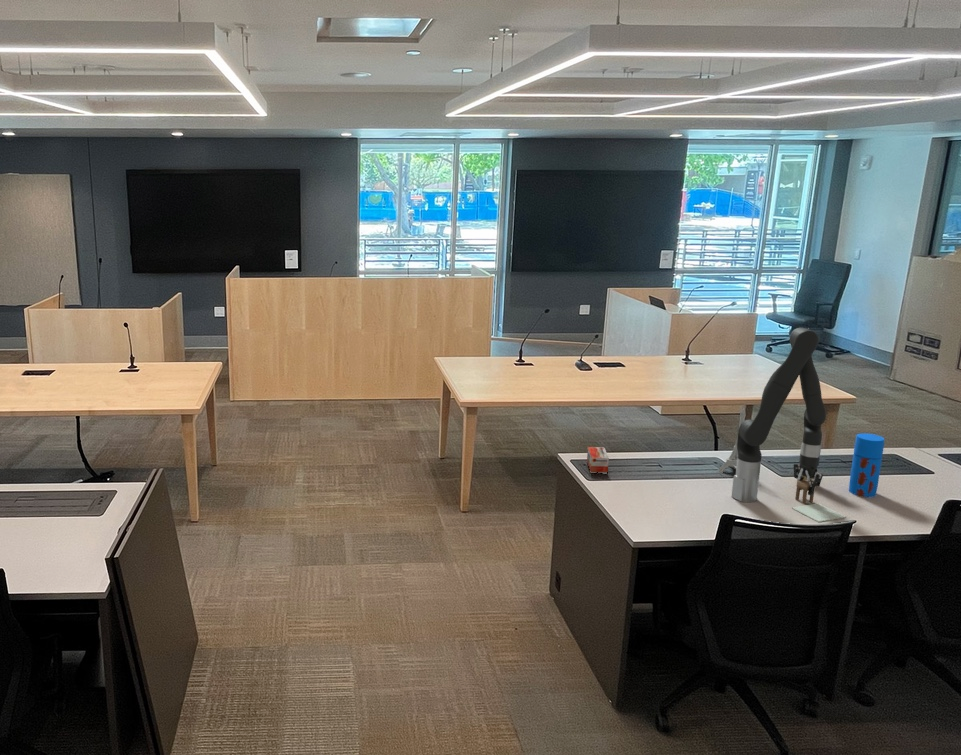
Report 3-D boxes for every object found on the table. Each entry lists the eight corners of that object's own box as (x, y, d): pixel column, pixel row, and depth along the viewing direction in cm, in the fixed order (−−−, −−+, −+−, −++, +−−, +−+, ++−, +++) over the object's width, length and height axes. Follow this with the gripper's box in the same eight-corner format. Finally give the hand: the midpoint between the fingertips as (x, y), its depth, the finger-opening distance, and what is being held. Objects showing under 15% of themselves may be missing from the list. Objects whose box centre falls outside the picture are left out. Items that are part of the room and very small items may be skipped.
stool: (803, 503, 312) (806, 485, 310) (794, 499, 316) (797, 481, 314) (813, 502, 314) (815, 483, 312) (804, 497, 318) (806, 479, 316)
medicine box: (608, 474, 340) (609, 457, 338) (590, 474, 340) (591, 457, 338) (603, 463, 355) (604, 447, 353) (586, 462, 355) (587, 446, 353)
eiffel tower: (716, 472, 346) (723, 408, 339) (728, 464, 356) (735, 403, 349) (745, 479, 338) (752, 414, 331) (756, 471, 348) (763, 408, 341)
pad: (818, 522, 294) (818, 521, 294) (792, 508, 307) (792, 507, 306) (845, 517, 299) (846, 516, 299) (818, 504, 312) (818, 503, 311)
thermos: (853, 486, 333) (861, 431, 327) (879, 493, 325) (888, 437, 319) (844, 492, 325) (852, 436, 319) (870, 499, 318) (879, 442, 312)
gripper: (790, 449, 315) (785, 487, 319) (816, 460, 302) (811, 499, 306) (804, 447, 318) (799, 485, 322) (830, 458, 305) (825, 497, 309)
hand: (805, 492), depth 314 cm, fingers open, 5 cm apart
